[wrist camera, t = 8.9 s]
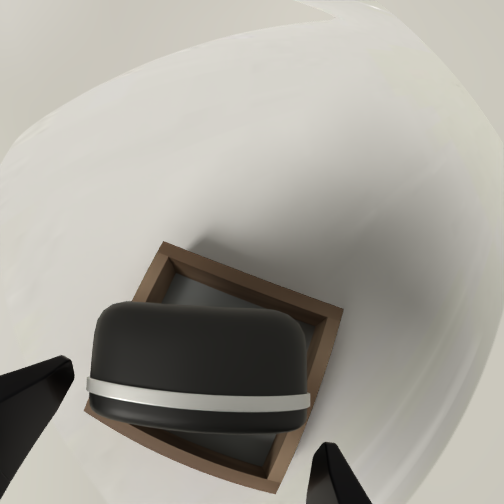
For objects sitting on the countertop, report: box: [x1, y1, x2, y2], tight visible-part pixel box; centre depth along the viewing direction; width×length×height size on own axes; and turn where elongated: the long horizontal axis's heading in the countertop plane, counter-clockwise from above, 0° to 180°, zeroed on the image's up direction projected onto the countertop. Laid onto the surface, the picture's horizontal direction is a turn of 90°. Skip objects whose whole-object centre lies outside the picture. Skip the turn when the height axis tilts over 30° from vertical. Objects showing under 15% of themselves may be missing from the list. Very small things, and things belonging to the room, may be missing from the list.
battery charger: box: [86, 301, 310, 435], centre depth 12 cm, size 7×4×11 cm, turn 89°
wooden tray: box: [84, 241, 344, 494], centre depth 16 cm, size 12×12×4 cm
